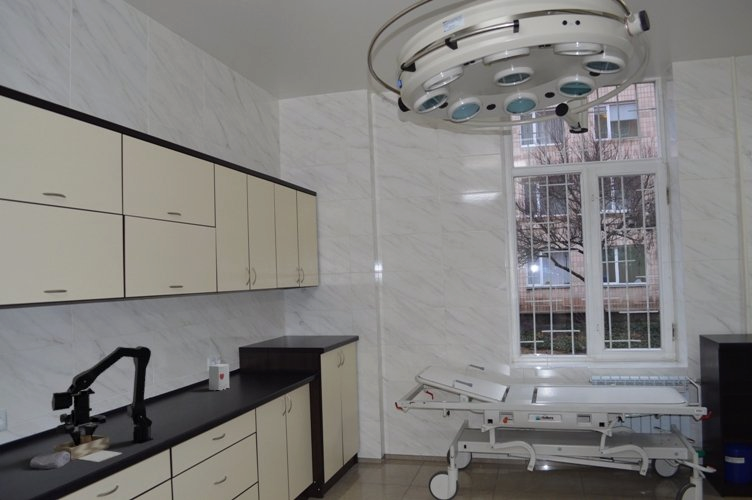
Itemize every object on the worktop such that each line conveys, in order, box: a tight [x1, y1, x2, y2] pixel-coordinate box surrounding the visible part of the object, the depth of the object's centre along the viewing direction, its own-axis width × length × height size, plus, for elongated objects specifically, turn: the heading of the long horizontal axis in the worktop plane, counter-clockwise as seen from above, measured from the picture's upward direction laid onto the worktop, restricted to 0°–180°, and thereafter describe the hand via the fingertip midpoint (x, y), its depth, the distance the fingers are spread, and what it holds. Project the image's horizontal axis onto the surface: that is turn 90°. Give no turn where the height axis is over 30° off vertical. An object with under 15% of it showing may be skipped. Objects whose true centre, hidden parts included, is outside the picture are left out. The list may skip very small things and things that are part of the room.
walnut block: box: [72, 433, 91, 447], centre depth 228 cm, size 4×5×4 cm
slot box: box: [53, 434, 110, 462], centre depth 228 cm, size 17×10×4 cm, turn 155°
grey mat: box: [77, 450, 123, 463], centre depth 222 cm, size 11×11×1 cm
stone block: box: [29, 451, 71, 470], centre depth 214 cm, size 12×5×10 cm
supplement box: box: [208, 363, 230, 391], centre depth 355 cm, size 9×9×15 cm
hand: (82, 446), depth 228 cm, fingers closed on walnut block, 4 cm apart
